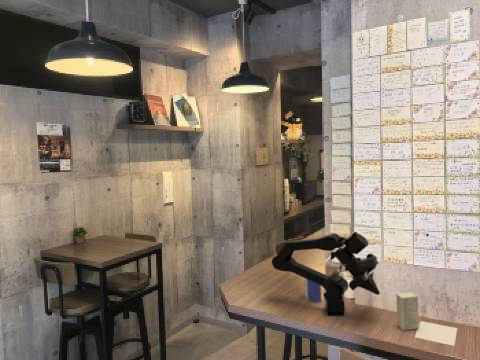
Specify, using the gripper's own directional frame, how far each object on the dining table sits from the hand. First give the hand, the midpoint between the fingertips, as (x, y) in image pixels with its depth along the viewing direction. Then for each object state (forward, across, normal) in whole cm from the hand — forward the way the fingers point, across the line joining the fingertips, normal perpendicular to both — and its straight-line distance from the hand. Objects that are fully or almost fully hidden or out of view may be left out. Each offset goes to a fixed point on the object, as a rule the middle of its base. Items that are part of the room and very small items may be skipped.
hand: (379, 294), depth 146 cm
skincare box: (+15, 0, 0) cm, 15 cm away
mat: (+21, 0, -6) cm, 22 cm away
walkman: (-13, +8, +28) cm, 32 cm away
